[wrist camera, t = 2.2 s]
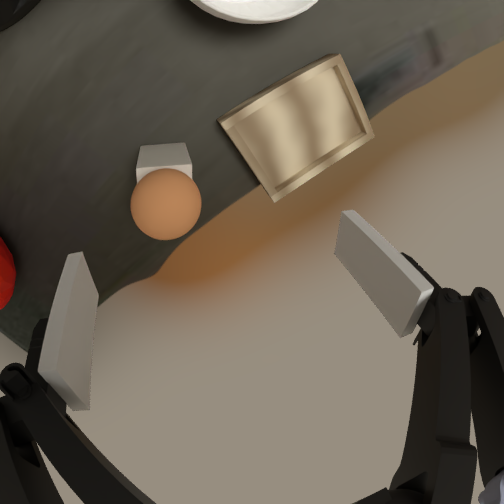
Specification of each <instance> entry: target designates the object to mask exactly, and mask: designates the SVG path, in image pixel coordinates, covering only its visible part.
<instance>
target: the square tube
mask: <svg viewBox="0 0 504 504" xmlns="http://www.w3.org/2000/svg"><path fill="white" fill-rule="evenodd" d="M163 168H170V169H176V170H179V171H181V172H183V173H185V174H186V175H188V176H189V177H190V178H191V179H192V163H191V160H190V157H189V154H188V151H187V148H186V145H185V143H171V144H156V145H143V146H141V147H140V152H139V156H138V161H137V166H136V176H137V184H138V182H139V181H140V180H141V179H142V178H143V177H144V176H145V175H147V174H148V173H150V172H152V171H155V170H158V169H163Z"/></svg>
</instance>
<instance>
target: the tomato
mask: <svg viewBox="0 0 504 504" xmlns="http://www.w3.org/2000/svg"><path fill="white" fill-rule="evenodd" d="M15 277H16V270H15V266H14V261H13V257H12V254H11V252H10V251H9V249H8V248H7V246H6V244H5V243H4V241H3V240H2V238H1V237H0V309H2V308H4V306H5V305H6V304H7V303H8V302H9V300H10V298H11V296H12V294H13V290H14V285H15Z"/></svg>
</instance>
